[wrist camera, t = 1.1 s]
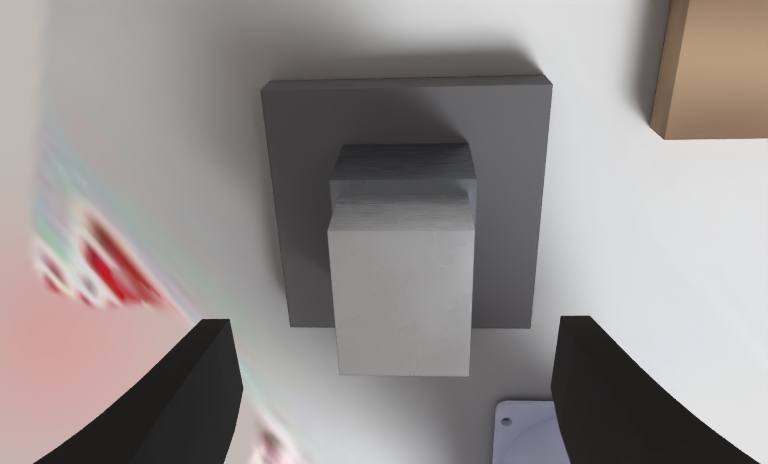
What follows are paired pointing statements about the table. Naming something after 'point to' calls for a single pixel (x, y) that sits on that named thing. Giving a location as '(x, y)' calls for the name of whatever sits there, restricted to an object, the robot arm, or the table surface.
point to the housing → (403, 258)
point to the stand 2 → (713, 71)
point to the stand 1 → (406, 126)
